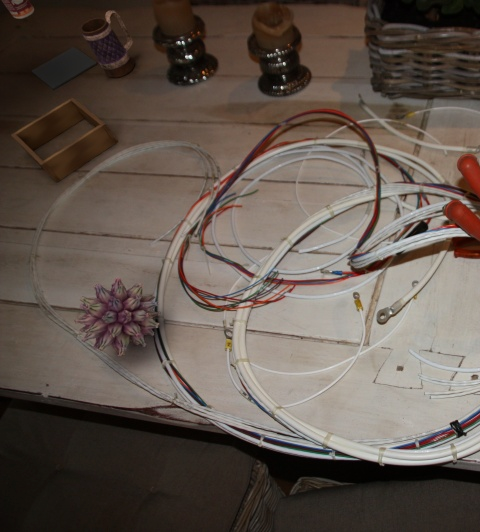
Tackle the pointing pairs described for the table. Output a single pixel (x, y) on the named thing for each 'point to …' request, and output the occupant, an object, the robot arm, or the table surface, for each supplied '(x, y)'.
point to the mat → (64, 68)
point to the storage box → (75, 151)
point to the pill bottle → (19, 8)
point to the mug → (108, 45)
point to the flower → (118, 316)
